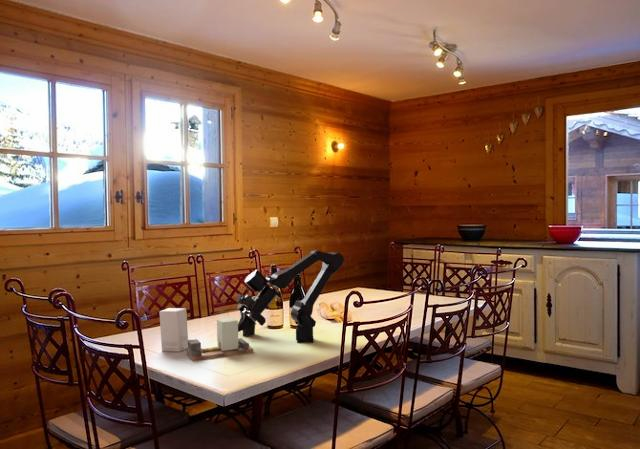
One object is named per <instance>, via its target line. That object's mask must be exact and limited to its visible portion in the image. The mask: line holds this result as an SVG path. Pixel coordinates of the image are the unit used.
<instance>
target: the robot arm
mask: <svg viewBox="0 0 640 449" xmlns="http://www.w3.org/2000/svg"><path fill="white" fill-rule="evenodd" d="M318 261H320V262H322V265H321V269H320V272H319V273H318V274H317V276H316V277H315V279H314V281H313V282H312V283H311V284H312V285H311V286H310V288H309V289H308V290H307V292H306V294H305V296H304V298H303V299H301V300H296V301H295V303H294V305H293V306H292V307H291V308H290V309H291V311H290V317H291V319H292V320H293V321H294V323H295V325H297V326H296V328H295V340H296V343H299V344H300V343H301V344H302V343H314V341H315V340H314V327H315V326H316V323H317V321H316V320H315V319H314V318H313V317H312V314H313V310H314V305H315V303H316V302H317V300H318V298H319V297H320V295H321V293H322V292H323V289H324V288H325V286H326V285H327V283H328V282H329V280H330V278H331V277H332V275H334V274H335V273H337V272H338V271H339V270H340V268H341V267H342V266H343V265H344V263H345V258H344V256H343V254H342V253H341V252H339V253H338V252H334V251H331V252H323V251H321V250H317V249H313V250H311V251H310V252H309V253H308V254H306V255H305V256H303V257H301V258H300V259H299V260H297V261H296V262H294V263H293V264H292V265H290V266H289V267H286V268H284V269H280V270H279V271H276V272H274V273H273V274H271V276H266V277H265V276H264V275H263V274H262V273H261V271H260V270H259V269H255V270H254V271H252V272H251V273H249V274H248V275H247V276H246V277H245V279H244V283H245V284H246V285H247V286H248V288H250V289H251V290H252V291H253V292H254V293H257V292H259V293H257V295H254V296H252V295H247V294H245V295H243V294H240V293H238V294H237V297H236V298H235V302H236V303H237V304H238V305H237V306H236V309H237V310H238V311H239V313H240V317H239V320H238V333H241V332H243V330H244V329H246V328H248V327H250V326H252V325H255V326H256V325H257V323H258V324H259V326H262V327H264V324H265V323H266V322H267V321H266V320H267V319H266V318H265V317H264V316H263V315H262V313H263V312H264V311H265V310H268V309H269V305H270V304H271V303H272V301H273V300H274V299H275V298H276V297H277V299H282V291H281V290H283V289H285V288H287V287H288V286H289V285H290V284H291V283H292V282H293V281H294V279H295V278H296V277H297V276H298V275H300V274H301V273H302V272H304V271H305V270H307V269H308V268H309V267H311V266H313V265H314V264H315V263H316V262H318ZM268 284H269V285H268ZM270 285H271V286H270ZM276 288H278V289H281V290H277V289H276ZM239 303H240V304H239ZM256 322H257V323H256Z"/></svg>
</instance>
